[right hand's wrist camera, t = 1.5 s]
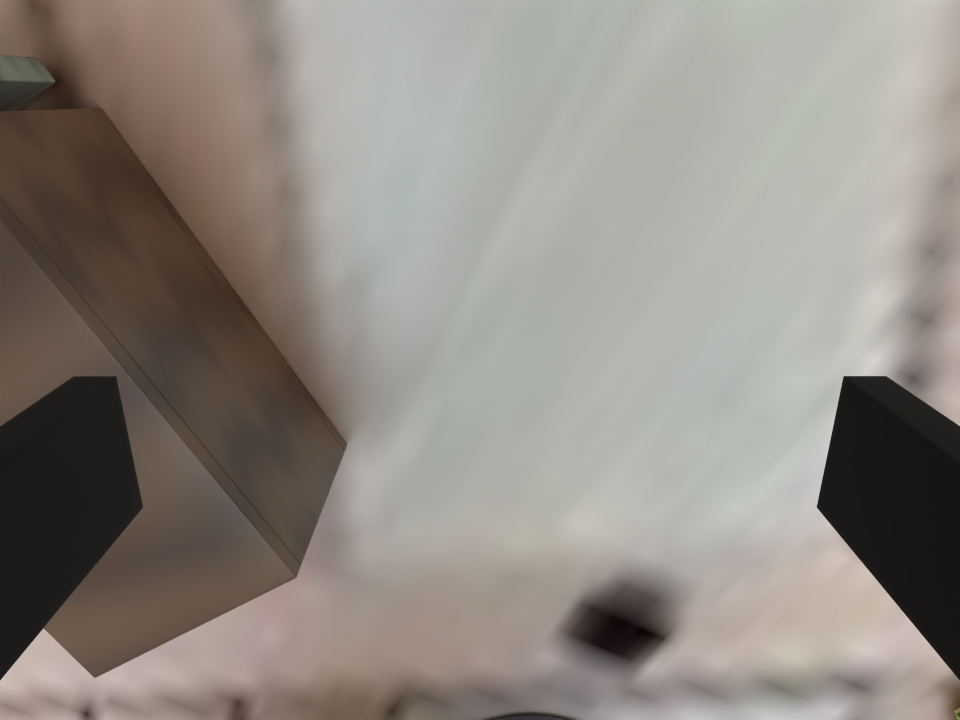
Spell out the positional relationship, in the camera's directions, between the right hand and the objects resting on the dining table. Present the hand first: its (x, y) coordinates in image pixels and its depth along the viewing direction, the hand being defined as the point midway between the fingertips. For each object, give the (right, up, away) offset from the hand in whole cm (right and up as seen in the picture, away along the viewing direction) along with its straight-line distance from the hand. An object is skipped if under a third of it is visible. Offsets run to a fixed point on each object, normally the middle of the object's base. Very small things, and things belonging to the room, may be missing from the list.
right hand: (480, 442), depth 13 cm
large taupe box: (-18, +3, +24) cm, 30 cm away
